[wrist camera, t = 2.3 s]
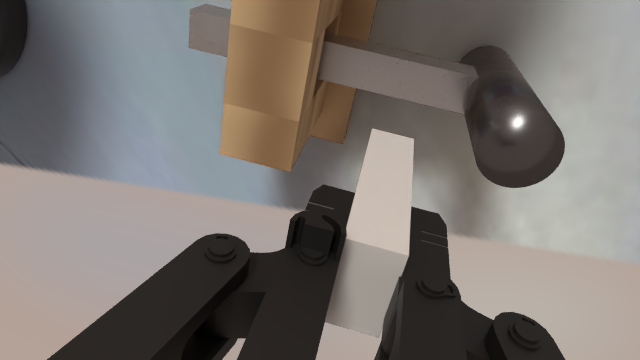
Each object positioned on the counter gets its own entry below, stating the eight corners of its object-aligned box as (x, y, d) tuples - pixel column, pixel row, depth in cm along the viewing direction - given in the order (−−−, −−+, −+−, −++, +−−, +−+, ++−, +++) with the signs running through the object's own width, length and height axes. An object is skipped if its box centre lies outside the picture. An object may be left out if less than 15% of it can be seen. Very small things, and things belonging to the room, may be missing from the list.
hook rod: (222, 39, 32) (130, 92, 22) (226, -15, 30) (127, 15, 20) (501, 105, 31) (542, 196, 20) (522, 53, 29) (580, 124, 19)
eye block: (244, 112, 35) (184, 175, 26) (265, -98, 28) (193, -110, 19) (345, 137, 34) (319, 211, 25) (393, -71, 27) (381, -69, 18)
